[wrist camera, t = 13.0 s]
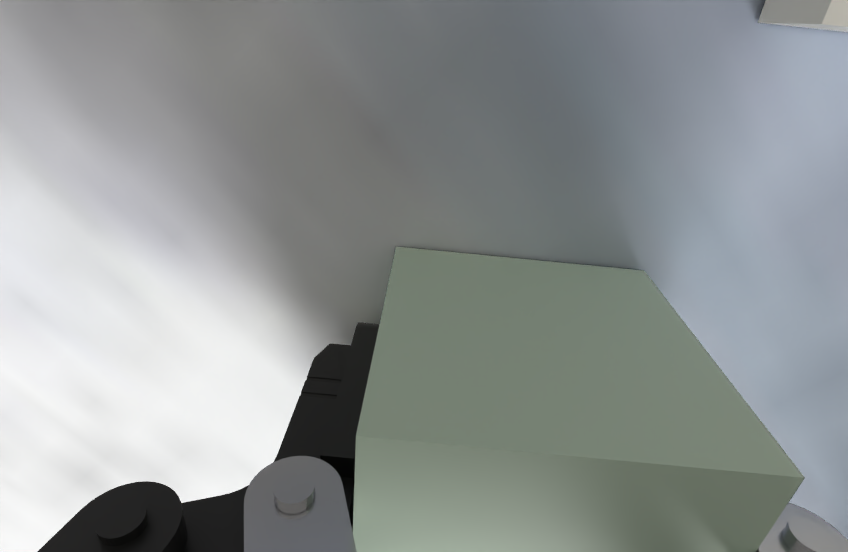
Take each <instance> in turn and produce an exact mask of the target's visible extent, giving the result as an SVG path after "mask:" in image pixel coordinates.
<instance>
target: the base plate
mask: <svg viewBox="0 0 848 552" xmlns="http://www.w3.org/2000/svg"><path fill="white" fill-rule="evenodd" d="M758 23H766V24H775V25H785V26H794V27H803V28H813V29H822V30H832V31H841V32H848V0H766V1H765V4H764V6H763V9H762V12H761V15H760V17H759V20H758Z"/></svg>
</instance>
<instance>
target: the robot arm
mask: <svg viewBox="0 0 848 552" xmlns="http://www.w3.org/2000/svg"><path fill="white" fill-rule="evenodd" d="M378 329H379V324H370V323H360V322H358V324H357V327H356V330H355V334H354V337H353V341H352V344H351V346H350V345H339V344H329V345H328V346H327V347H326V348H325V349H324V350H323V351H321V352H320V353H319V354H318V355H317V356H316V357H315V358H314V360H313V362H312V365H311V368H310V370H309V373H308V376H307V380H306V381H305V383H304V386H303V389H302V391H301V396H300V397H299V399H298V402H297V405H296V407H295V410H294V412H293V415H292V418H291V420H290V423H289V426H288V428H287V431H286V433H285V436H284V439H283V441H282V444H281V447H280V449H279V452H278V454H277V457H276V459H275V461H274V462H273V463H272V464H270V465H268V466H267V467H265V468H264V469H262V470H261V471H260V472H259V473H258V474H257V475H256V476H255V477H254V478H253V480H252V481H251V482H250V484H249V485H248V486H246V487H244V488H242V489H240V490H238V491H235V492H232V493H229V494H225V495H221V496H216V497H211V498H206V499H201V500H195V501H190V502H185V503H181V501H180V499H179V497H178V495H177V494H176V493H175V491H173V490H172V489H171V488H169V487H168V486H166V485H163V484H160V483H156V482H135V483H130V484H126V485H122V486H119V487H116V488H114V489H112V490H109V491H107V492H105V493H104V494H102V495H100V496H98V497H97V498H95V499H94V500H92V501H91V502H89V503H88V504H87V505H86V506H85V507H84V508H82V509H81V510H80V511H79V512H78V513H77V514H76V515H75V516H74V517H73V518H72V519H71V520H70V521H69V522H68V523H67V524H66V525H65V526H64V527H63V528H62V529H60V530H59V531H58V532H57V533H56V534H55V535H54V536H53V537H52V538H51V539H50V540H49V541H48V542H47V543H46V544H45V545H44V546H43V547H42V548H41V549H40V550H39V551H38V552H357V551H356V546H355V541H354V537H353V511H354V480H355V449H356V433H357V428H358V424H359V419H360V414H361V409H362V405H363V400H364V395H365V390H366V386H367V381H368V376H369V372H370V367H371V362H372V357H373V353H374V348H375V343H376V339H377V334H378ZM756 552H848V540H847V539H846V538H845V537H844V536H843V535H842V534H841V533H840V532H839V531H838V530H837V529H835V528H834V527H833V526H832V525H831V524H829V523H828V522H826V521H825V520H824V519H822V518H821V517H819V516H817V515H816V514H814V513H812V512H810V511H808V510H806V509H804V508H802V507H799V506H797V505H794V504H791V503H788V504H787V505H786V507H785V508H784V510H783V511H782V513H781V514H780V516H779V517H778V519H777V520H776V522H775V524H774V525H773V527H772V528H771V530H770V531H769V533H768V534H767V536H766V537H765V539H764V540H763V542H762V543H761V545H760V546H759V548H758V549H757V551H756Z"/></svg>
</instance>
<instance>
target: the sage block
mask: <svg viewBox="0 0 848 552" xmlns="http://www.w3.org/2000/svg"><path fill="white" fill-rule="evenodd" d="M804 478H805V477H804V476H803V475H802V474H801V472H800V471H799V470H798V468H797V467H796V466H795V465H794V463H793V462H792V461H791V459H790V458H789V457H788V456H787V454H786V453H785V452H784V450H783V449H782V448H781V446H780V445H779V444H778V443H777V441H776V440H775V439H774V437H773V436H772V435H771V434H770V432H769V431H768V430H767V428H766V427H765V426H764V425H763V423H762V422H761V421H760V419H759V418H758V417H757V416H756V414H755V413H754V412H753V410H752V409H751V408H750V407H749V405H748V404H747V403H746V401H745V400H744V399H743V398H742V396H741V395H740V394H739V392H738V391H737V390H736V389H735V387H734V386H733V385H732V383H731V382H730V381H729V379H728V378H727V377H726V376H725V374H724V373H723V372H722V370H721V369H720V368H719V367H718V365H717V364H716V363H715V361H714V360H713V359H712V358H711V356H710V355H709V354H708V352H707V351H706V350H705V349H704V347H703V346H702V345H701V343H700V342H699V341H698V340H697V338H696V337H695V336H694V334H693V333H692V332H691V331H690V329H689V328H688V327H687V325H686V324H685V323H684V322H683V320H682V319H681V318H680V316H679V315H678V314H677V313H676V311H675V310H674V309H673V307H672V306H671V305H670V303H669V302H668V301H667V300H666V298H665V297H664V296H663V294H662V293H661V292H660V291H659V289H658V288H657V287H656V285H655V284H654V283H653V282H652V280H651V279H650V278H649V276H648V275H647V274H646V273H645V271H643V270H632V269H622V268H612V267H601V266H591V265H581V264H571V263H560V262H550V261H540V260H529V259H519V258H509V257H498V256H488V255H478V254H467V253H457V252H447V251H436V250H426V249H416V248H406V247H396V249H395V254H394V258H393V263H392V268H391V272H390V277H389V282H388V287H387V291H386V296H385V301H384V306H383V310H382V315H381V320H380V324H379V329H378V334H377V339H376V343H375V348H374V353H373V357H372V362H371V367H370V372H369V376H368V381H367V386H366V390H365V395H364V400H363V405H362V409H361V414H360V419H359V424H358V428H357V433H356V449H355V480H354V511H353V537H354V541H355V546H356V551H357V552H756V551H757V549H758V548H759V546H760V545H761V543H762V542H763V540H764V539H765V537H766V536H767V534H768V533H769V531H770V530H771V528H772V527H773V525H774V524H775V522H776V520H777V519H778V517H779V516H780V514H781V513H782V511H783V510H784V508H785V507H786V505H787V504H788V502H789V501H790V499H791V498H792V496H793V495H794V493H795V492H796V490H797V489H798V487H799V486H800V484H801V483H802V481H803V480H804Z"/></svg>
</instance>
